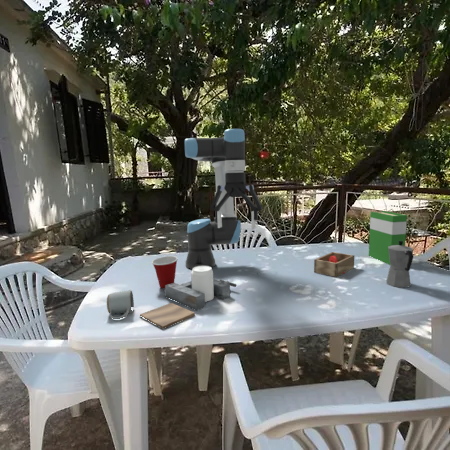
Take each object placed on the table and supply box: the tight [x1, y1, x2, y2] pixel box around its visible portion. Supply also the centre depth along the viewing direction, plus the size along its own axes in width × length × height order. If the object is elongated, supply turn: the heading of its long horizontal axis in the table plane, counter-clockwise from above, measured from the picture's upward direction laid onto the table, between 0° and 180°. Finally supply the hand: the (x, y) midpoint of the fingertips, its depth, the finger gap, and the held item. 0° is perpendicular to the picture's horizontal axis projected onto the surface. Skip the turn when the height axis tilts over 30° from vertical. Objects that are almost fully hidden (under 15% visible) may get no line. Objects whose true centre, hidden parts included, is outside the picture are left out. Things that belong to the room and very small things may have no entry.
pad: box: [139, 302, 196, 329], centre depth 112 cm, size 13×13×1 cm
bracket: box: [329, 256, 346, 275], centre depth 156 cm, size 12×4×8 cm, turn 7°
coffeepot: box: [386, 241, 414, 288], centre depth 134 cm, size 15×9×18 cm, turn 0°
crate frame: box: [313, 251, 355, 278], centre depth 156 cm, size 11×18×6 cm, turn 136°
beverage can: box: [190, 266, 215, 303], centre depth 125 cm, size 8×8×12 cm
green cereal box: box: [368, 210, 408, 266], centre depth 169 cm, size 18×7×24 cm, turn 10°
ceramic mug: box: [106, 289, 135, 320], centre depth 114 cm, size 11×8×8 cm
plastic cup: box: [151, 255, 178, 289], centre depth 139 cm, size 11×11×12 cm
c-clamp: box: [164, 278, 237, 311], centre depth 130 cm, size 18×23×5 cm
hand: (236, 228), depth 128 cm, fingers open, 13 cm apart
